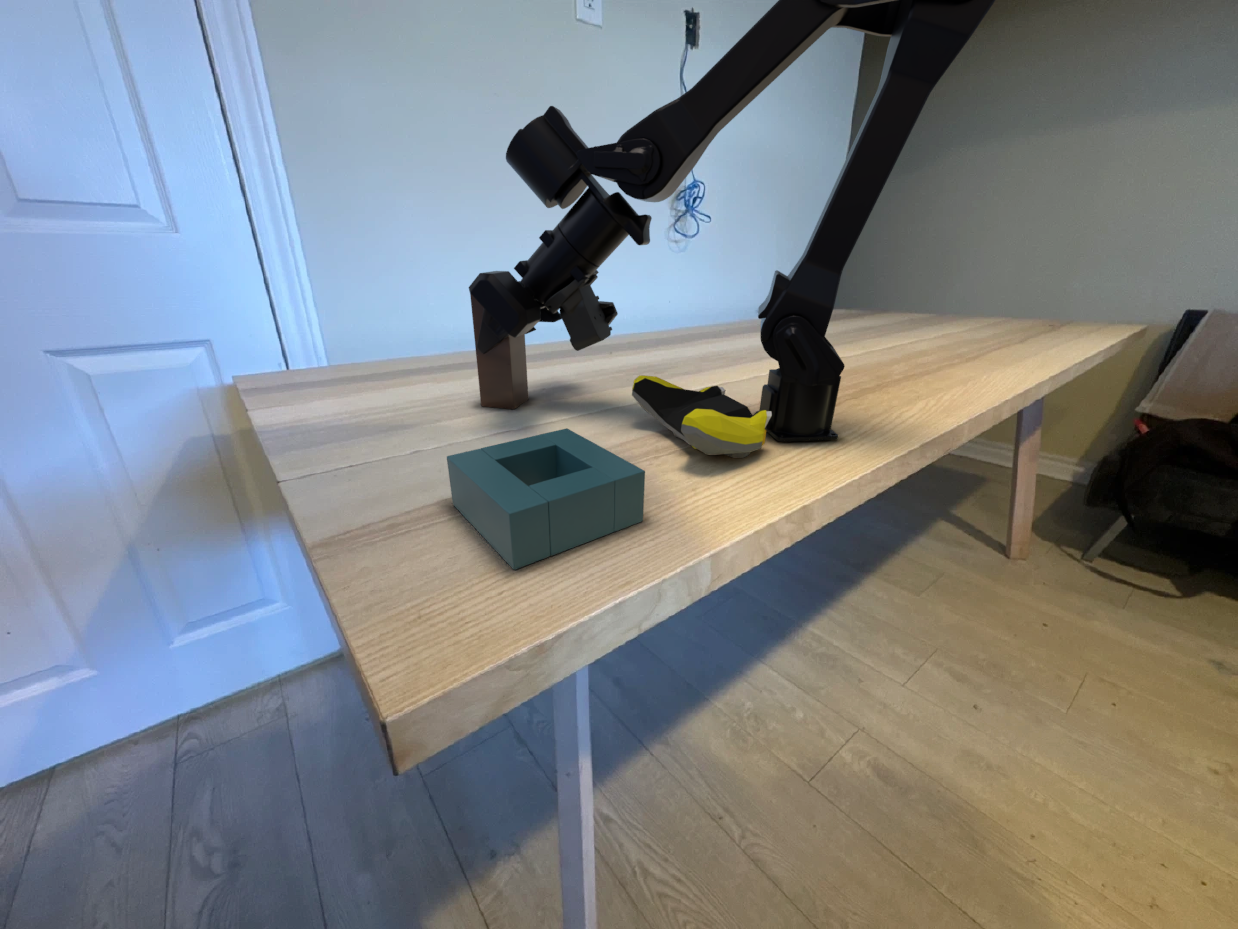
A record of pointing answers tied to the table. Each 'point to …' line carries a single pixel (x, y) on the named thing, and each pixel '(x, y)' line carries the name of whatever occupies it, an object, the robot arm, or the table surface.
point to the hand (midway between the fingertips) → (489, 346)
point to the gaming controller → (703, 417)
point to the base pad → (545, 494)
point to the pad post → (500, 368)
